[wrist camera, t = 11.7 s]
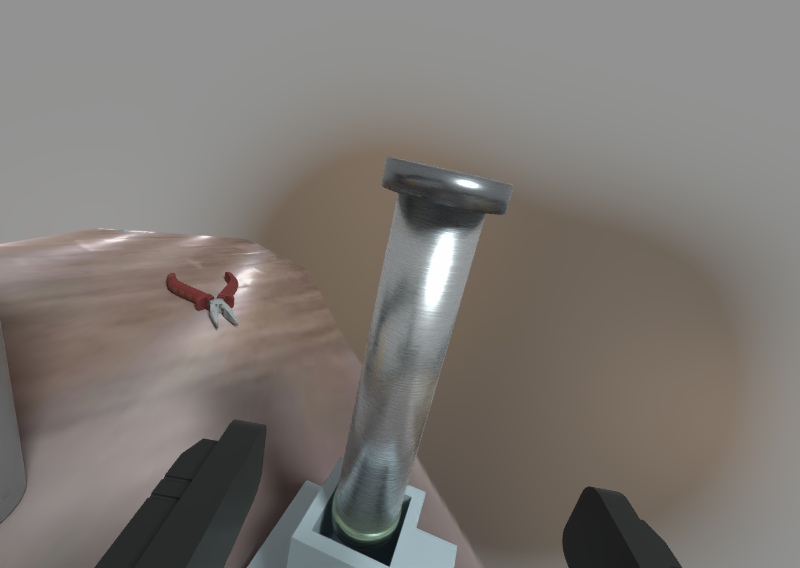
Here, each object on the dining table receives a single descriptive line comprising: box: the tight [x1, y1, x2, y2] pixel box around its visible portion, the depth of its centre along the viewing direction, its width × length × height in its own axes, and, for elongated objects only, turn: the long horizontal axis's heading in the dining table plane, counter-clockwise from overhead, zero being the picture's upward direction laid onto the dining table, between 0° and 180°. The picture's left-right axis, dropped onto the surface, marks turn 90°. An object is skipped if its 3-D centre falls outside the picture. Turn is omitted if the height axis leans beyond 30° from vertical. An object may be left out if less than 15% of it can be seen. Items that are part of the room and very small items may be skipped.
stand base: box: [247, 457, 457, 568], centre depth 25 cm, size 14×14×10 cm
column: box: [331, 156, 514, 551], centre depth 20 cm, size 6×6×21 cm
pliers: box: [166, 272, 238, 328], centre depth 63 cm, size 12×20×3 cm, turn 37°
